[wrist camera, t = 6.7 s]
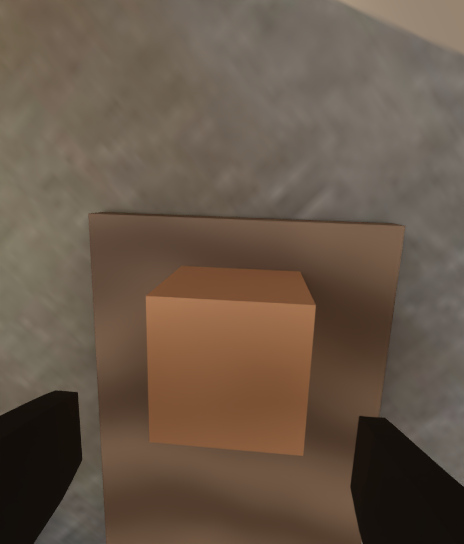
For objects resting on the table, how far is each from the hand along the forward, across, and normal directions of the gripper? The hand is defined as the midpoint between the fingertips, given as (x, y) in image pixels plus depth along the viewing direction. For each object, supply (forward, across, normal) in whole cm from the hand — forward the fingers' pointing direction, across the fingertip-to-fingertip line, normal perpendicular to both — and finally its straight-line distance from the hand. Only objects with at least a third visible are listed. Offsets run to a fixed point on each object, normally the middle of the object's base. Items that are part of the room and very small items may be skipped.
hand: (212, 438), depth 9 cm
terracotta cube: (+8, 0, 0) cm, 8 cm away
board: (+9, 0, +5) cm, 11 cm away
